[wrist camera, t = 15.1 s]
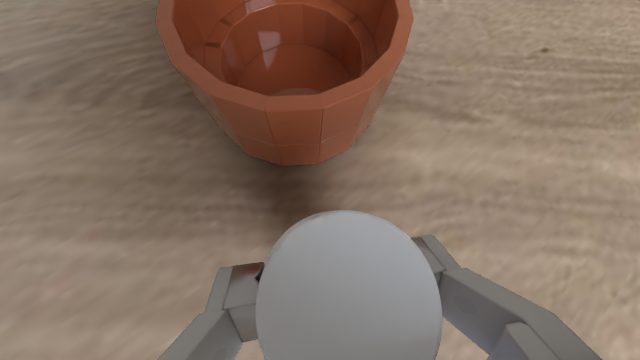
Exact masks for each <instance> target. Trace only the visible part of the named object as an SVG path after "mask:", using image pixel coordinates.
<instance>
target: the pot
mask: <svg viewBox="0 0 640 360" xmlns="http://www.w3.org/2000/svg"><path fill="white" fill-rule="evenodd" d="M155 22H156V23H155V24H156V27H157V29H158V32H159V34H160V37H161V39H162V42H163V44H164V47H165V49H166V51H167V54H168V56H169V59H170V61H171V63H172V64H173V66H174V67H175V68H176V70H177V71H178V72H179V74H180V75H181V76H182V78H183V79H184V80H185V82H186V83H187V84H188V86H189V87H190V88H191V90H192V91H193V92H194V94H195V95H196V96H197V98H198V99H199V100H200V102H201V103H202V104H203V106H204V107H205V108H206V110H207V111H208V112H209V114H210V115H211V116H212V118H213V119H214V120H215V122H216V123H217V124H218V126H219V127H220V128H221V130H222V131H223V132H224V134H225V135H226V136H228V137H229V138H230V139H231V140H232V141H233V142H234V143H236V144H237V145H238V146H239V147H240V148H241V149H243V150H244V151H245V152H246V153H247V154H249V155H250V156H253V157H256V158H259V159H263V160H266V161H269V162H272V163H275V164H278V165H281V166H282V165H283V166H287V165H304V164H317V163H320V162H323V161H325V160H327V159H329V158H331V157H333V156H335V155H338V154H340V153H342V152H344V151H346V150H348V149H349V148H350V147H351V146H352V145H353V144H354V143H355V142H356V140H357V139H358V138H359V137H360V136H361V135H362V134H363V133H364V131H365V130H366V129H367V128H368V127H369V125H370V123H371V121H372V119H373V117H374V115H375V113H376V111H377V109H378V107H379V105H380V103H381V101H382V98H383V96H384V94H385V92H386V90H387V88H388V86H389V84H390V82H391V80H392V78H393V76H394V74H395V72H396V70H397V68H398V66H399V64H400V62H401V60H402V58H403V56H404V53H405V49H406V45H407V42H408V38H409V34H410V31H411V27H412V23H413V14H412V10H411V6H410V2H409V0H159V2H158V8H157V14H156V20H155Z"/></svg>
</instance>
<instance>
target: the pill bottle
mask: <svg viewBox="0 0 640 360" xmlns="http://www.w3.org/2000/svg"><path fill="white" fill-rule="evenodd" d="M255 311H256V328H257V334H258V339H259V343H260V347H261V350H262V352H263V355H264V357H265V360H435V358H436V356H437V353H438V349H439V346H440V339H441V332H442V307H441V300H440V294H439V290H438V286H437V282H436V279H435V277H434V274H433V272H432V269H431V267H430V265H429V263H428V261H427V260H426V258H425V256H424V255H423V253H422V252H421V250H420V249H419V248H418V246H417V245H416V244H415V243H414V242H413V241H412V240H411V238H410V237H409V236H408V235H407V234H405V233H404V232H403V231H402V230H401V229H399V228H398V227H396V226H395V225H394V224H392V223H391V222H389V221H387V220H385V219H383V218H381V217H378V216H376V215H373V214H370V213H366V212H361V211H355V210H337V211H328V212H321V213H317V214H314V215H311V216H309V217H306V218H304V219H302V220H301V221H299V222H297V223H296V224H294V225H293V226H291V227H290V228H289V229H288V230H287V231H286V232H285V233H284V234H283V235H282V236H281V237H280V238H279V239H278V241H277V242H276V243H275V245H274V247H273V248H272V250H271V252H270V254H269V256H268V258H267V260H266V263H265V266H264V270H263V273H262V275H261V278H260V281H259V286H258V290H257V296H256V309H255Z"/></svg>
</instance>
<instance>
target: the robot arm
mask: <svg viewBox="0 0 640 360" xmlns="http://www.w3.org/2000/svg"><path fill="white" fill-rule="evenodd" d="M411 240H412V241H413V242H414V243H415V244H416V245H417V246H418V248H419V249H420V250H421V252H422V253H423V255H424V256H425V258H426V260H427V261H428V263H429V265H430V267H431V269H432V272H433V274H434V277H435V279H436V282H437V286H438V290H439V294H440V300H441V307H442V316H443V317H444V318H445V319H446V320H448V321H449V322H450V323H451V324H453V325H454V326H455V327H456V328H457V329H459V330H460V331H461V332H462V333H463V334H465V335H466V336H467V337H468V338H469V339H471V340H472V341H473V342H474V343H476V344H477V345H478V346H479V347H480V348H482V349H483V350H484V351H485V352H486V353H488V354H489V356H488V358H487V360H602V359H601V358H600V357H599V356H598V355H597V354H596V353H595V352H594V351H593V350H592V349H591V348H589V347H588V346H587V345H586V344H585V343H584V342H583V341H582V340H581V339H580V338H579V337H578V336H577V335H576V334H575V333H574V332H573V331H572V330H571V329H570V328H568V327H567V326H566V325H565V324H564V323H563V322H562V321H561V320H560V319H559V318H558V317H557V316H556V315H555V314H554V313H552V312H550V311H548V310H546V309H544V308H542V307H540V306H538V305H536V304H534V303H532V302H531V301H529V300H527V299H525V298H523V297H521V296H519V295H517V294H515V293H513V292H511V291H509V290H507V289H506V288H504V287H502V286H500V285H498V284H496V283H494V282H492V281H490V280H488V279H486V278H484V277H482V276H481V275H479V274H477V273H475V272H473V271H471V270H469V269H467V268H461V267H460V266H459V265H458V263H457V262H456V261H455V260H454V259H453V258H452V256H451V255H450V254H449V253H448V252H447V250H446V249H445V248H444V247H443V246H442V245H441V243H440V242H439V241H438V240H437V239H436V238H435V236H433V235H425V236H419V237H413V238H411ZM264 266H265V265H264V262H259V263H251V264H244V265H236V266H231V267H223V268H220V269H219V270H218V272H217V274H216V277H215V280H214V283H213V286H212V290H211V293H210V296H209V299H208V302H207V305H206V308H205V311H204V313H203V314H199V315H198V316H197V317H196V318H195V319H194V320H193V322H192V323H191V324H190V325H189V326H188V327H187V328H186V329H185V330H184V331H183V332H182V333H181V335H180V336H179V337H178V338H177V339H176V340H175V341H174V342H173V343H172V344H171V345H170V347H169V348H168V349H167V350H166V351H165V352H164V353H163V354H162V355H161V356H160V357H159V358H158V360H234V358H235V357H236V355H237V353H238V351H239V350H240V348H241V346H242V342H247V341H251V340H256V339H258V334H257V328H256V311H255V309H256V296H257V290H258V286H259V281H260V278H261V275H262V273H263V270H264Z"/></svg>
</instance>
